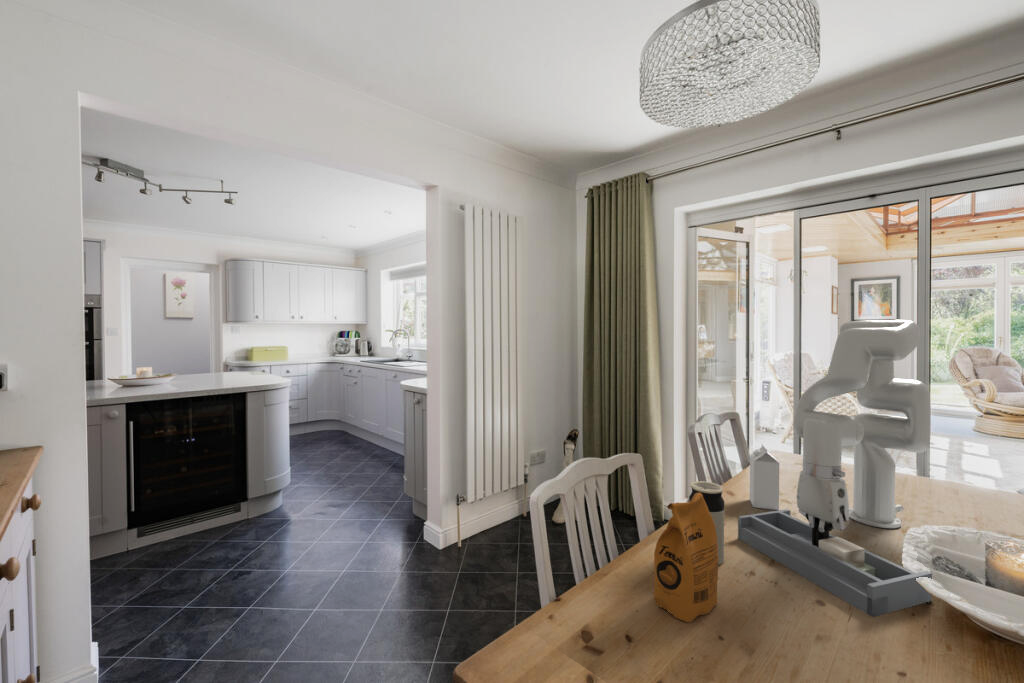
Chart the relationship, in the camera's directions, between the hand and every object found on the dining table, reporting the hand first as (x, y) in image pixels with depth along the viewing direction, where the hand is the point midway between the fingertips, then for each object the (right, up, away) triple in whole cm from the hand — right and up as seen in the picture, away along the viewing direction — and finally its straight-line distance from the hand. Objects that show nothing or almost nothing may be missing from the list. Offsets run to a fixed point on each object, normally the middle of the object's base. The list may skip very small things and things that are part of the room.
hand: (820, 545), depth 105 cm
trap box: (0, -5, 0) cm, 5 cm away
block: (+1, -1, -5) cm, 5 cm away
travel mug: (-26, -5, +4) cm, 27 cm away
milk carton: (+7, -4, +36) cm, 37 cm away
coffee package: (-38, -6, -15) cm, 41 cm away
